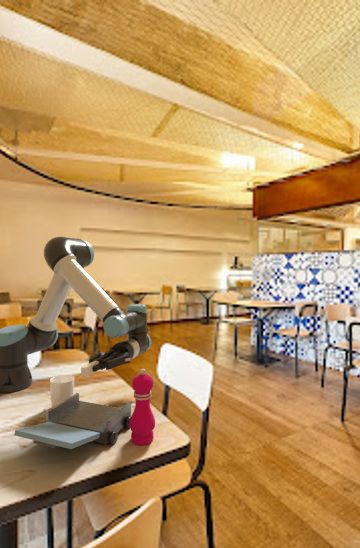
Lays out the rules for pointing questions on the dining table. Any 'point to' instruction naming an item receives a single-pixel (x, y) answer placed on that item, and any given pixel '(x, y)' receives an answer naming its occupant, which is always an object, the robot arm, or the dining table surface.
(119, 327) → the robot arm
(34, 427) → the panel
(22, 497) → the dining table surface
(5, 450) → the dining table surface
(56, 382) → the white cup
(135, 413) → the pepper mill
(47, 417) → the cart bed
